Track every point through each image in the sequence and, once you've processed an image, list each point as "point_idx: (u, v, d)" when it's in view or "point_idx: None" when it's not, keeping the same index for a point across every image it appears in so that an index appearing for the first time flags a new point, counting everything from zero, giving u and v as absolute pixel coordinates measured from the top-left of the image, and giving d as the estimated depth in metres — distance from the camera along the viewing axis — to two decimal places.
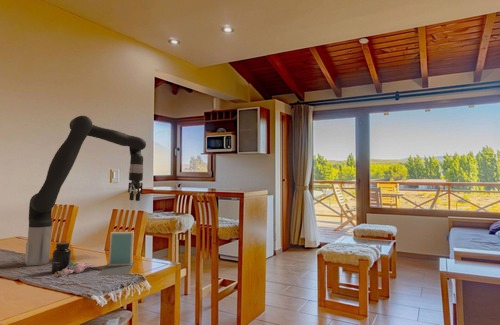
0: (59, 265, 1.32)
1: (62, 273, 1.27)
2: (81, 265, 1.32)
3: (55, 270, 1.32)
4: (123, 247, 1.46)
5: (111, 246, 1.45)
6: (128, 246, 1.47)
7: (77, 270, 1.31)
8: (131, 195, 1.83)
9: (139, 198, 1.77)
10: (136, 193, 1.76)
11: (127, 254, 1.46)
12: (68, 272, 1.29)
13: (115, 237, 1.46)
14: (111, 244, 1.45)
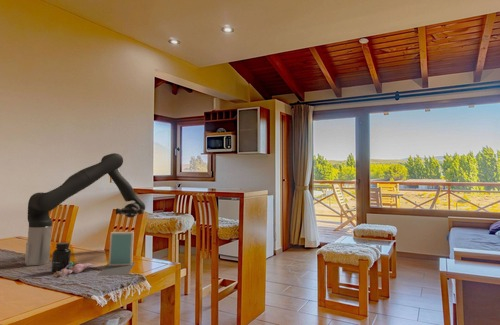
0: (59, 265, 1.32)
1: (61, 273, 1.27)
2: (80, 265, 1.32)
3: (55, 270, 1.32)
4: (123, 247, 1.46)
5: (111, 246, 1.45)
6: (128, 246, 1.47)
7: (76, 270, 1.31)
8: (121, 211, 1.61)
9: (136, 213, 1.61)
10: (136, 209, 1.64)
11: (127, 254, 1.46)
12: (67, 272, 1.29)
13: (115, 237, 1.46)
14: (111, 244, 1.45)
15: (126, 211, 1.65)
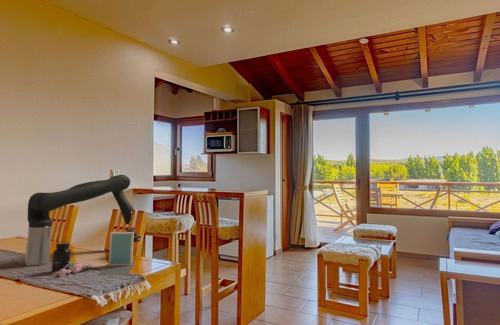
0: (59, 265, 1.32)
1: (60, 273, 1.27)
2: (79, 265, 1.32)
3: (55, 270, 1.32)
4: (123, 247, 1.46)
5: (111, 246, 1.45)
6: (128, 246, 1.47)
7: (75, 270, 1.31)
8: None
9: None
10: None
11: (127, 254, 1.46)
12: (66, 272, 1.29)
13: (115, 237, 1.46)
14: (111, 244, 1.45)
15: None
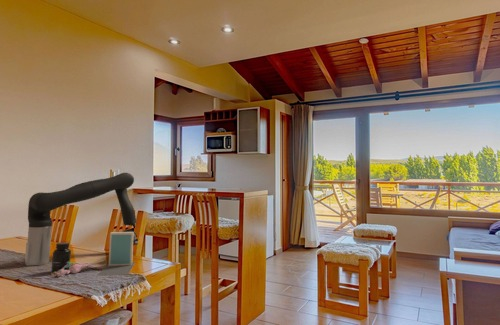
0: (59, 265, 1.32)
1: (59, 273, 1.26)
2: (78, 265, 1.32)
3: (55, 270, 1.32)
4: (123, 247, 1.45)
5: (111, 246, 1.44)
6: (128, 246, 1.46)
7: (74, 270, 1.30)
8: None
9: None
10: None
11: (127, 254, 1.46)
12: (65, 272, 1.28)
13: (115, 237, 1.45)
14: (111, 244, 1.44)
15: None
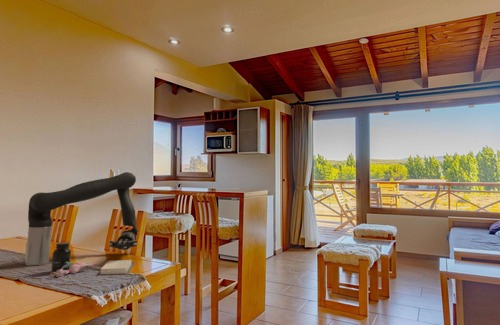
0: (59, 265, 1.32)
1: (58, 274, 1.26)
2: (77, 265, 1.32)
3: (55, 270, 1.32)
4: None
5: None
6: None
7: (73, 270, 1.30)
8: None
9: (123, 247, 1.45)
10: (124, 242, 1.48)
11: None
12: (64, 273, 1.28)
13: None
14: None
15: None
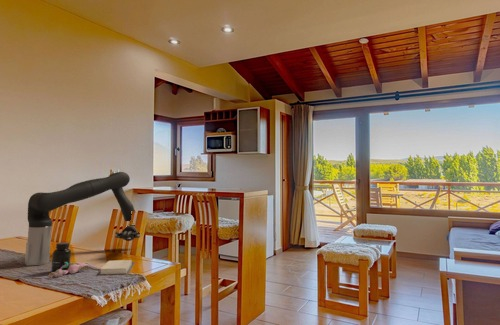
0: (59, 265, 1.32)
1: (56, 274, 1.26)
2: (75, 265, 1.31)
3: (55, 270, 1.32)
4: None
5: None
6: None
7: (72, 271, 1.30)
8: None
9: (128, 238, 1.58)
10: (128, 233, 1.61)
11: None
12: (62, 273, 1.28)
13: None
14: None
15: None
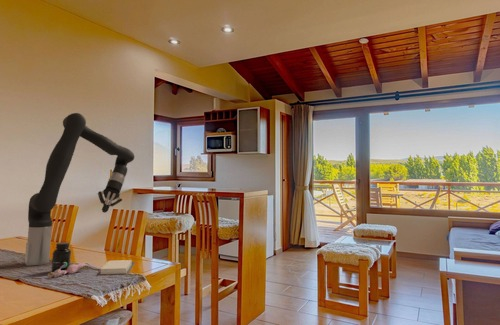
0: (59, 265, 1.32)
1: (56, 274, 1.26)
2: (74, 266, 1.31)
3: (55, 270, 1.32)
4: None
5: None
6: None
7: (71, 271, 1.29)
8: None
9: (107, 210, 1.63)
10: (109, 204, 1.63)
11: None
12: (61, 273, 1.28)
13: None
14: None
15: None
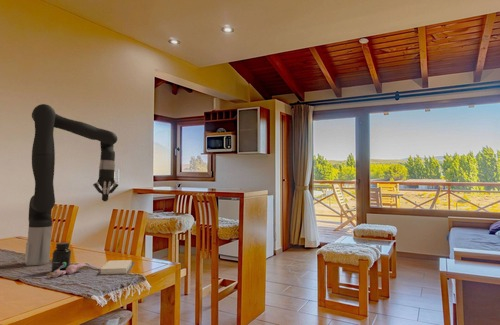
0: (59, 265, 1.32)
1: (55, 274, 1.25)
2: (74, 266, 1.31)
3: None
4: None
5: None
6: None
7: (70, 271, 1.29)
8: None
9: None
10: (108, 193, 1.68)
11: None
12: (60, 273, 1.27)
13: None
14: None
15: None
